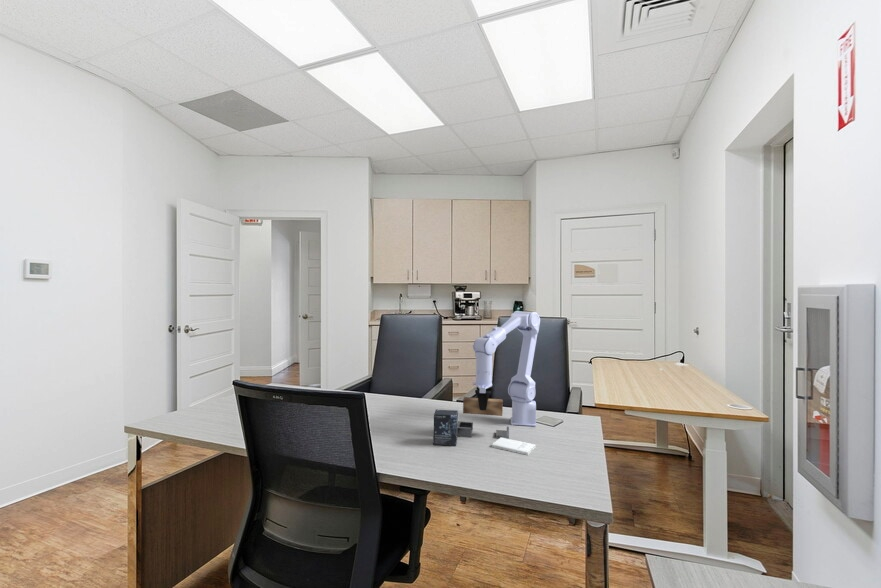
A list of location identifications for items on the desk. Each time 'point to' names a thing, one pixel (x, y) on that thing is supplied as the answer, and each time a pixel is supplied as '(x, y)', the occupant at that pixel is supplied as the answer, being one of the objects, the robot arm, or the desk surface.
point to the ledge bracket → (502, 433)
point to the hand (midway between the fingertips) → (483, 408)
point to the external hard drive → (513, 446)
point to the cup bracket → (464, 429)
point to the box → (445, 427)
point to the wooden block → (492, 409)
